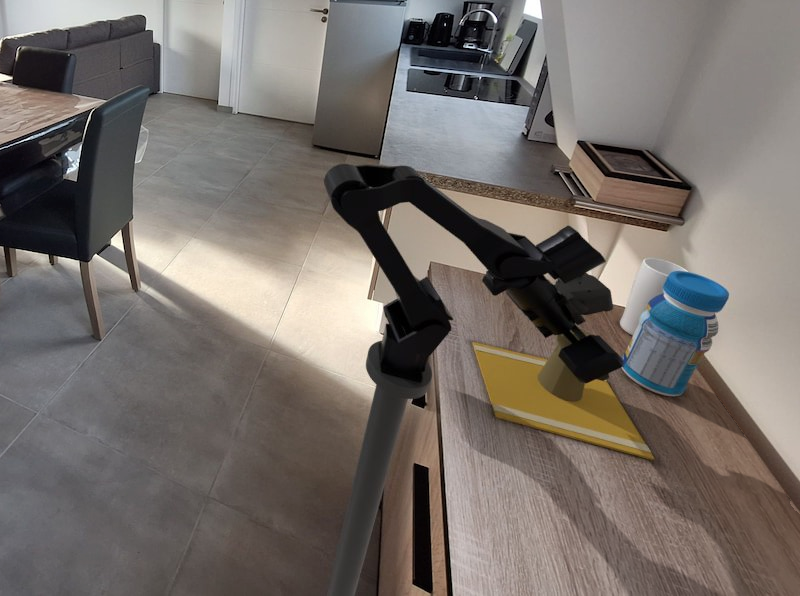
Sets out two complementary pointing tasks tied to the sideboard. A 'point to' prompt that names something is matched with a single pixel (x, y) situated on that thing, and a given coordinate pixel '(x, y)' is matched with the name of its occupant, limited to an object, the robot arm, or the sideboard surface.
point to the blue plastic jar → (674, 333)
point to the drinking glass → (646, 290)
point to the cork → (561, 374)
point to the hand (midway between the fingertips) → (583, 355)
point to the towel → (555, 403)
